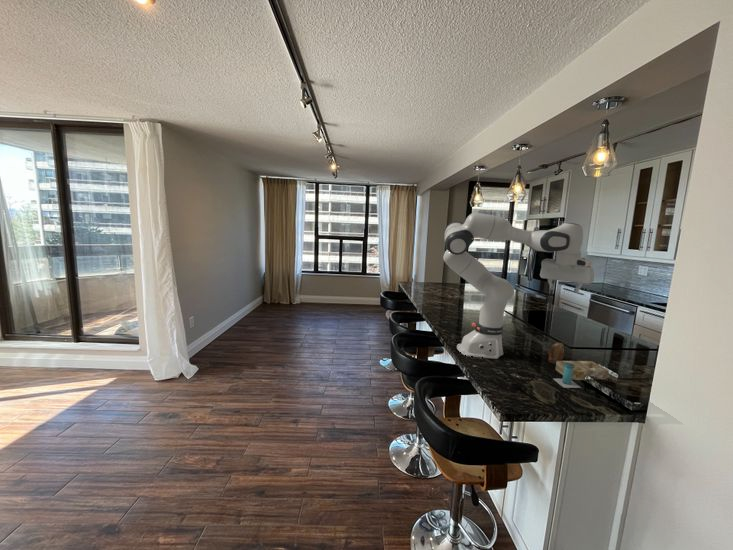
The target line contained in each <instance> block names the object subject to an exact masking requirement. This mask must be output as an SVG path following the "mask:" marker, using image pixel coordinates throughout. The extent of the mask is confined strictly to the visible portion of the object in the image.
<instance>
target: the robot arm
mask: <svg viewBox="0 0 733 550" xmlns="http://www.w3.org/2000/svg"><path fill="white" fill-rule="evenodd" d="M443 238H444V245H445V248H446V251H444V254H443V256H442V259H443V261H444V263H445V265H447V266H448V267H449V269H451V270H452V271H453V272H454V273H456V275H458V276H460V277H461V278H462V279H463V280H465V281H466V282H467V283H469V284H470V285H471V286H472V287H473V288H474V289H475V290H477V291H478V292H479V293H481V294H482V295H484V296H485V299H484V301H483V304H482V306H481V307H480V308H479V317H478V318H479V319H478V323H477V324H476V323H475V322H471V326H472V327H473V328H474V329H473V330H472V331H471V332H469V333H466V335H464V336H463V337H462V340H461V343H458V344H457V345H456V350H458V351H459V353H460V352H461V353H460V354H462V355H463V356H465V355H466V357H471V356H473V358H482V357H483V359H495V360H498V359H500V357H501V356H503V355H504V350H503V341H502V340H503V334H504V333H503V332H504V325H503V323H504V314H505V311H506V307H507V304H508V302H509V301H510V300H511V299H512V298H513V297H514V295H515V287H514V285H513V284H512V283H511V282H509V281H508V280H507V279H505V278H502V277H499V276H497V275H495V274H493V273H492V272H491V271H490V270H489V269H488V268H487V267H486V266H485V265H484V264H483V263H482V262H480V261H479V260H478V259H477V258H476V257H474V256H473V255H472V254H470V253H469V252H468V249H469V248H470V246H471V244H472V243H473V242H474V240H475V238H479V239H484V240H487V241H491V242H493V241H495V242H503V241H511V242H516V243H519V244H523V245H526V246H527V247H529V249H531V250H533V251H535V252H543V253H544V252H546V253H554V252H555V253H556V258H545V259H542V260H541V263H540V264H541V268H540V273H539V276H540V278H541V279H547V282H548V285H549V289H550V290H555V288H556V287H555V285H554V283H553V281H556V280H557V281H561V282H562V281H563V282H569V283H575V284H577V287H576V288H573V293H575V294H579V292H580V291H579V290H580V289H581V288H582V286H583V284H585V285H591V284H593V283H594V281H595V270H594V268H593V267H592V266H593V265H594V264H593V261H592V260H591V259H587V258H584V257H581V255H582V252H581V248H582V245H583V239H584V229H583V226H581V225H580V224H578V223H573V222H572V223H571V222H563V223H562V224H560V225H558V226H557V227H553V228H551V229H547V230H546V229H545V230H544V229H537V230H527V229H522V228H518V227H516V226H513V225H512V224H511V222H510V221H509V220H508V219H507V218H505V217H502V216H498V215H493V214H490V213H482V212H473V213H470V214H469V215H468V216H467V217H466V219H465V221H464V222H462V221H456V220H454V221H451V222H450V223H448V224H447V225H446V227H445V229H444V237H443Z"/></svg>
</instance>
